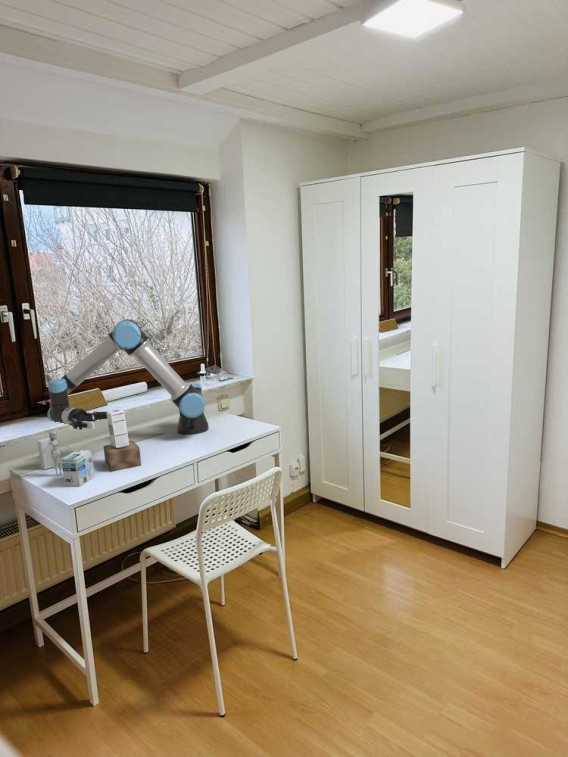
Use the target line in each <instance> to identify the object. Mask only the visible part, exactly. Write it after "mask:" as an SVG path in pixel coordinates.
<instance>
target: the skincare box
mask: <svg viewBox="0 0 568 757" xmlns="http://www.w3.org/2000/svg"><path fill="white" fill-rule="evenodd" d="M49 441H50V436H49V437H46V438H42V439H39V440H37V441H36V443H37V450H38V455H39V460H40V466H41V469H42V470H44V469H46V468H50V469H52V468H51V467H54V468H55V466H54V464H55V462H54V460H53V458H52V455H51V450H52V449H53V446H52V445H51V444H50V445H49V446H48V448H47V449H46V450H45V451H44V449H45V448H46V447H47V445H48V444H49ZM43 451H44V453H43ZM41 453H43V455H41ZM40 455H41V457H40ZM56 463H57V467H59V466H58V462H56Z"/></svg>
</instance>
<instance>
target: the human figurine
mask: <svg viewBox="0 0 568 757" xmlns="http://www.w3.org/2000/svg"><path fill="white" fill-rule="evenodd" d="M48 435H49V437H50V441H49V444H48V445H47V447H46V448H45V449H44V451H45V450H46V449H47V448H48V446H49V445H50V444H51V445H52V446H53V449H52V450H51V455H52V458H53V460H54V462H55V464H54V466H55V467H54V471H55V475H57V476H59V477H60V476H61V475H63V471H62V461H61V459H62V453H61V449H60V447H59V445H60V444H61V445H62V446H64V447H67V449H70V450H71V449H72V448H71V447H70V446H68V445H66V444H65V443H64V442H62V441H61V440H60V439H59V438H58V436H57V431H56V430H50V431H49V432H48ZM44 451H43V453H44ZM43 453H41V455H43ZM41 455H40V456H39V458H40V457H41ZM56 462H58V466H57V463H56ZM58 470H59V473H58ZM57 476H56V477H57ZM63 476H64V475H63Z"/></svg>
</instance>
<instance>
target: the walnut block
mask: <svg viewBox="0 0 568 757" xmlns="http://www.w3.org/2000/svg"><path fill="white" fill-rule="evenodd" d="M102 447H103V452H104V453H103V454H104V461H105V465H106V466H107V468H108V470H109V471H110V472H111V473H113V472H117V471H122V470H127V469H131V468H136V467H140V466H142V460H141V459H142V458H141V450H140V449H141V448H140V447H139V445H138V444H137V443H135V441H134V440H129V445H128V446H124V447H120V448H115V447H112V446H111V443H110V444H106V445H105V444H104V445H103V446H102Z"/></svg>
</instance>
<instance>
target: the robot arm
mask: <svg viewBox="0 0 568 757" xmlns="http://www.w3.org/2000/svg"><path fill="white" fill-rule="evenodd" d="M119 351H124V352H125V354H127V355H128V356H129V357H135V358H136V360H137V361H138V362H139V363H140V364H141V365H142V366H143V367H144V368H145V370H147V371H148V372H149V373H150V375H152V377H153V378H154V379H155V380H156V381H157V382H158V383H159V384H160V385H161V386H162V387H163V388H164V390H165V391H167V392H168V394H169V395H170V400H171V402H172V404H174V405H175V406H176V407H177V408H178V413H179V418H178V424H177V427H176V429H177V430H176V431H177V433H178V434H181V435H195V434H200V433H204V432H207V431H208V430H209V429H210V428H209V427H210V426H209V422H208V420H207V417H206V415H205V412H204V411H205V408H206V400H205V398H204V396H203V392H202V390H203V388H202V384H201V383H195V382H193V383H191V382H186V381H184V379H183V378H181V376H180V375H179V374H178V373H177V372H176V371H175V369H173V367H172V366H171V365H170V364H169V363H168V362H167V361H166V360H165V359H164V358H163V356H162V355H160V353H159V352H158V351H157V350H156V349H155V348H154V347H153V346H152V345H151V343H150V338H149V337H148V335H146V334H145V332H144V331H143V330H142V329H141V326H140V324H139V323H138V322H136V321H135V320H134V319H128V318H127V319H123V320H121V321H119V322H117V324H116V325H115V326H114V327H113V329H112V331H111V332H109V333H108V335H107V338H105V340H103V341H102V342H101V343H100V344H99V345H98V346H97V347H96V348H94V349H93V350H92V351H91V352H90V353H89V354H87V355H86V356H85V357H84V358H83V359H81V360H80V361H79V362H78V363H77V364H75V366H73V367H72V368H70V370H69V371H68V372H66V374H64V375H63V376H62V377H60V378H54V379H51V380H49V381H48V382H47V385H48V389H47V390H48V394H49V395H48V396H49V400H50V407H49V408H48V411H47V418H48V420H50V421H51V422H52V421H54V422H53V423H56V422H60V423H59V424H61V423H64V424H63V425H68V424H69V425H68V426H71V425H72V426H71V427H72V428H73V429H74V430H77V429H78V430H80V431H81V430H83V429H87V430H95V423H94V422H97V421H98V420H101V421H102V420H107V412H108V411H93V412H87V411H86V410H85V409H83V408H77V407H71V405H70V399H69V394H70V393H72V391H74V390H75V389H76V388H77V387H78V386H80V384H81V383H83V382H84V381H85V380H86V379H87V378H89V377H90V376H91V375H92V374H93V373H95V372H96V371H97V370H98V369H100V367H101V366H103V365H104V364H105V363H106V362H108V361H109V360H110V359H111V358H112V357H113V356H115V355H116V354H117V353H118V352H119ZM58 406H59V407H58Z"/></svg>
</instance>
